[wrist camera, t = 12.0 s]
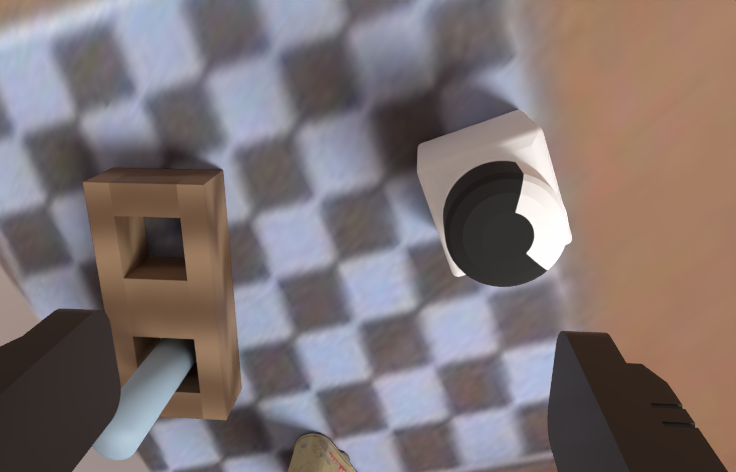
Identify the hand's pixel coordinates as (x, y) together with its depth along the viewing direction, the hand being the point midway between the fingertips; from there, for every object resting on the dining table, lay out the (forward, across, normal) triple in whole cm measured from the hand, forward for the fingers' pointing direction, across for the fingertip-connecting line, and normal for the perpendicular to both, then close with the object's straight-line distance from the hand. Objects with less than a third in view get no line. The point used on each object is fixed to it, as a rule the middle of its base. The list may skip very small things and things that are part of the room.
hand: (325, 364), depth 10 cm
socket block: (+30, +16, +13) cm, 36 cm away
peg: (+30, +16, +18) cm, 38 cm away
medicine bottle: (+30, -6, +4) cm, 31 cm away
